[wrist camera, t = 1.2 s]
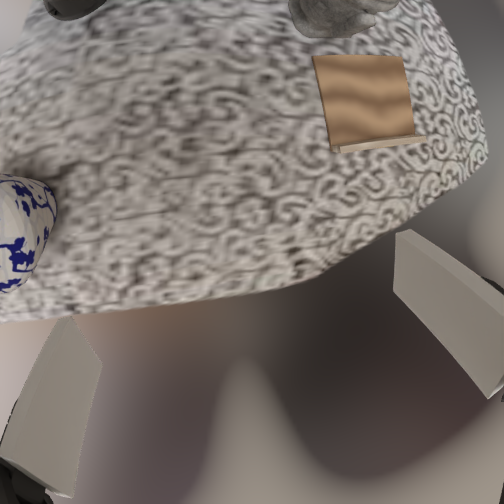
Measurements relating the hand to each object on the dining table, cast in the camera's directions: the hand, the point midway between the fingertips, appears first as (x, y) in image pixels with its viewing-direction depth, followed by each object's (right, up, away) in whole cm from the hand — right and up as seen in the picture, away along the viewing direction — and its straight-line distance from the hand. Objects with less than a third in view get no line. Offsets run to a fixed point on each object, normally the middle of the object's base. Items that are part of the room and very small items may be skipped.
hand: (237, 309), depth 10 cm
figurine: (+12, +45, +27) cm, 53 cm away
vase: (-42, +11, +33) cm, 54 cm away
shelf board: (+22, +31, +35) cm, 51 cm away
